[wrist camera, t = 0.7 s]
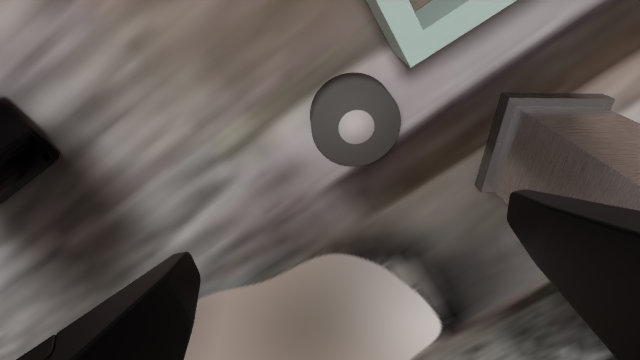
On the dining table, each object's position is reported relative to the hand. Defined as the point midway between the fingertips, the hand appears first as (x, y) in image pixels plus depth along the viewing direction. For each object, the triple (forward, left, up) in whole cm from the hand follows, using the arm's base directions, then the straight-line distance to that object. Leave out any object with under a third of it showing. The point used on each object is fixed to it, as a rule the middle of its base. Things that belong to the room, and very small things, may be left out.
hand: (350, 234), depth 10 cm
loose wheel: (+1, -2, -13) cm, 13 cm away
